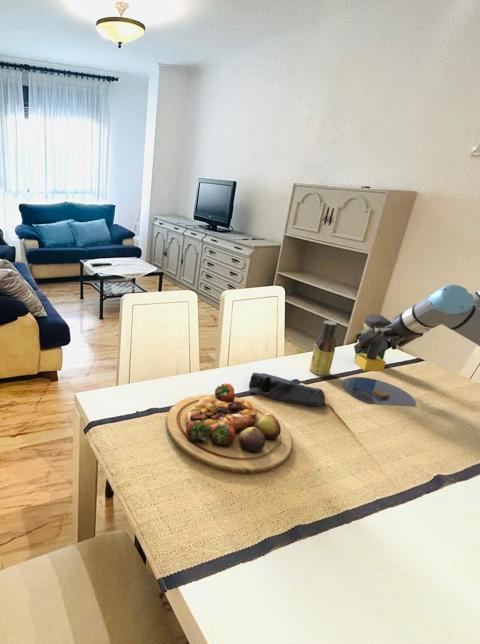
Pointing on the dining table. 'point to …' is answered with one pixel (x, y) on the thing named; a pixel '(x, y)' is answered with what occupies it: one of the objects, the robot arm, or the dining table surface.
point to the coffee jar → (370, 324)
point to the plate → (365, 387)
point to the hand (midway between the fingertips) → (365, 350)
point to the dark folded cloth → (285, 390)
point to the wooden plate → (229, 433)
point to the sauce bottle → (324, 350)
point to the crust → (380, 394)
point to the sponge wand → (371, 359)
